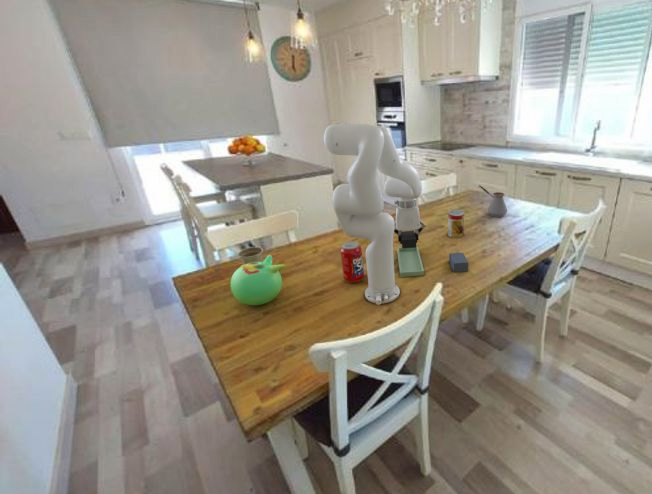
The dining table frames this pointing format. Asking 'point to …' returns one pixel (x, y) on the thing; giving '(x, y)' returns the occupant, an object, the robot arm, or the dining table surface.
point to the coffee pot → (496, 204)
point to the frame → (410, 262)
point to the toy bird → (257, 282)
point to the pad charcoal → (408, 239)
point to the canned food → (455, 223)
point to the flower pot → (251, 255)
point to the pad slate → (458, 262)
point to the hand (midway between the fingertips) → (408, 241)
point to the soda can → (352, 261)
